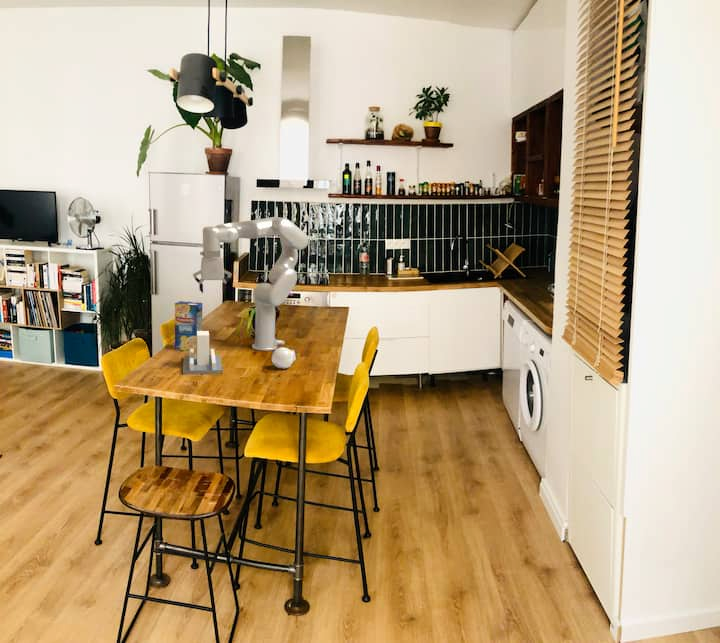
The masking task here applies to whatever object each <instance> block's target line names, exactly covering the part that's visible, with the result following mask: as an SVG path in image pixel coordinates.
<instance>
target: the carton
mask: <svg viewBox="0 0 720 643" xmlns="http://www.w3.org/2000/svg"><path fill="white" fill-rule="evenodd" d="M195 352H196V355H197V365H209V355H210V331H209V330H202V331H197V338H196V351H195Z"/></svg>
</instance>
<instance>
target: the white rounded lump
mask: <svg viewBox="0 0 720 643" xmlns="http://www.w3.org/2000/svg"><path fill="white" fill-rule="evenodd" d="M296 360H298V355H297V352H296V350H295V349H289V348H288V347H283V346H282V347H281V346H280V347H278V348H277V349H275V350H273V352H272V354H271V362H272V363H273V365H274V367H276V368H278V369H281V368H282V369H283V370H286V369H288V368H289V367H290V366H292V364H293V362H295V361H296Z"/></svg>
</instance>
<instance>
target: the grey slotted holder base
mask: <svg viewBox="0 0 720 643" xmlns="http://www.w3.org/2000/svg"><path fill="white" fill-rule="evenodd" d="M194 353H195V351H194V349H190V351H189V354H188V355H183V365H182V366H183V368H182V372H183V375H208V374H209V375H210V374H211V375H213V374H216V373H218V374H219V373H222V374H223V371H224V370H223V364H222V358H221V354H215V348H210V354H209V365H197V354H194Z"/></svg>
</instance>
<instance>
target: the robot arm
mask: <svg viewBox="0 0 720 643" xmlns="http://www.w3.org/2000/svg"><path fill="white" fill-rule="evenodd" d="M271 236H280V240H279V241H280V244H281V254H280V256H279V257H278V259H277V260H276V262H275V264H273V266H272V268H271V269H270V271H269V273H268V280H269V282H270V283H267V282H262V283H259V284H258V285H256V286H255V288H254V291H253V298H254V299H253V300H254V306H255V321H254V322H255V323H254V324H255V325H254V326H255V327H254V334H255V335H254V343H253V344H251V348H252V349H253V350H256V351H266V352H268V351H275V350H276V349H278V348H279V345H285V340H282V339H276V307H279V306H280V305H282V304H283V303H284V302H285V301H286V299H287V298H288V297H289V295H290V294H291V292H292V290H293V289H294V288H295V286H296V284H297V281H298V273H297V271H296V270H295V269H294V268H295V267H296V265H297V263H298V258H299V253H298V250H301V251H302V250H304V249H306V248H307V246H308V245H309V237H308V235H307V234H306V232H304V231H303V229H301V228H299V227H298V226H297V225H296V224H295V223H293V221H291V220H289V219H288V218H286V217H280V216H279V217H278V216H272V217H266V218H259V219H258V218H257V219H253V220H244V221H243V220H242V221H235V222H227V223H221V224H217V225H216V226H205V227H203V228H202V249H203V250H202V251H200V252H199V255H200V256H202V257H201V261H200V270H198V271H196V272H194V273H192V276H193V278H194V280H195V281H196V282H197V283H198V285H199V291H200V292H201V294H203V293H204V284H203V282H204V281H222V283H221V284H222V285H221V286H222V292H223V293H225V291H226V290H227V283H228V282H229V281H230V279H231V277H232V275H233V273H231V272H230V271H228V270H226V269H225V268H224V259H223V257H222V256H221V243H225V244H231V243H234V242H236V241H237V240H238V239H260V238H266V237H271ZM225 274H226V275H227V276H226V277H225ZM199 275H200V279H199V278H198V276H199ZM271 283H272V284H271Z"/></svg>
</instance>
